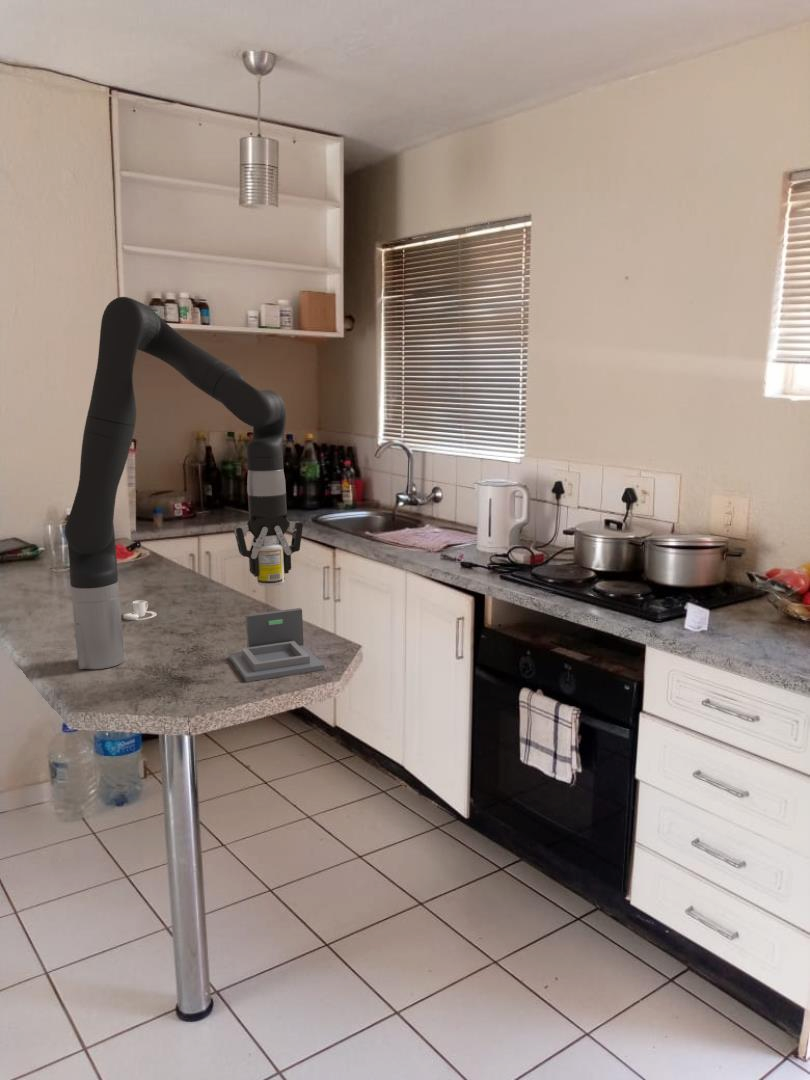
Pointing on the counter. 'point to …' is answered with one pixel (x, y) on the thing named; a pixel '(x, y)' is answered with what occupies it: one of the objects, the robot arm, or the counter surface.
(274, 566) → the supplement bottle
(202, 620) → the counter surface
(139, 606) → the teacup and saucer
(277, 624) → the charging dock
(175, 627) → the counter surface
